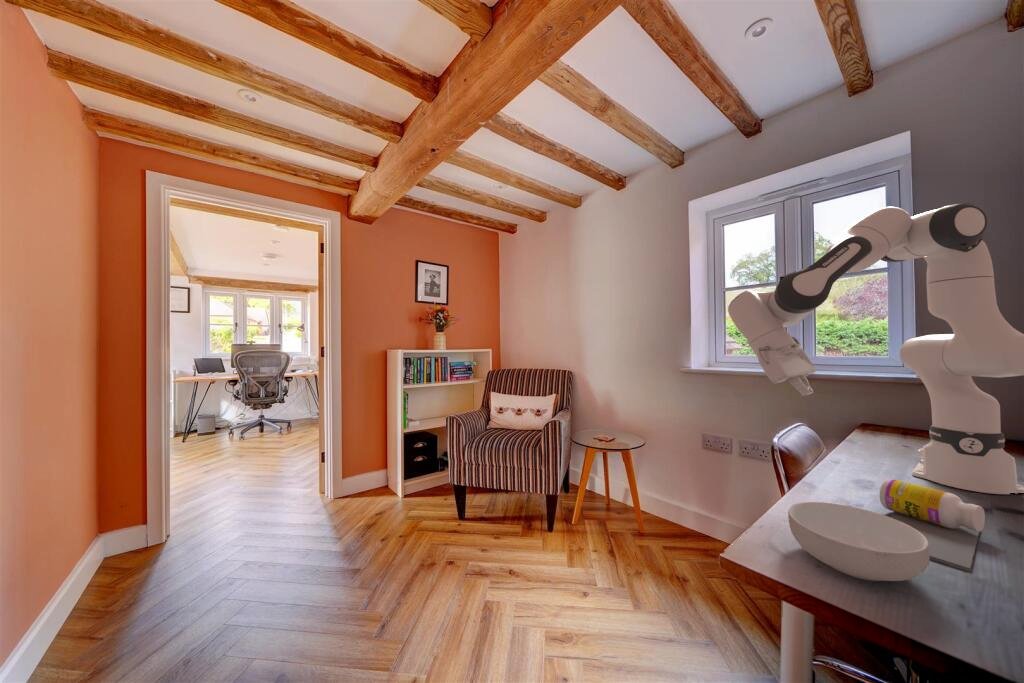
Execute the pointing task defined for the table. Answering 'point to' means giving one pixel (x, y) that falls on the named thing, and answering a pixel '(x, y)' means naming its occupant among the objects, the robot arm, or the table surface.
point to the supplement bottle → (930, 505)
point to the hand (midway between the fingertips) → (808, 394)
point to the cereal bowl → (859, 541)
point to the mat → (945, 541)
